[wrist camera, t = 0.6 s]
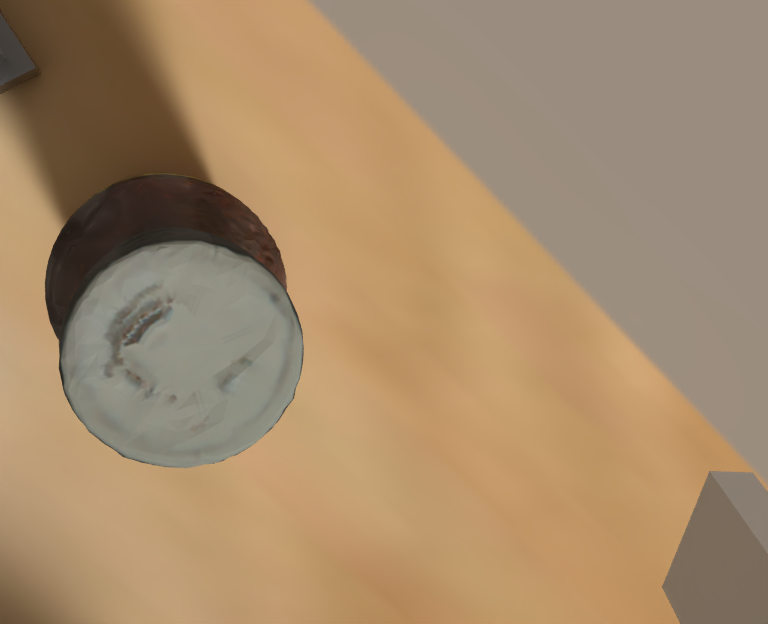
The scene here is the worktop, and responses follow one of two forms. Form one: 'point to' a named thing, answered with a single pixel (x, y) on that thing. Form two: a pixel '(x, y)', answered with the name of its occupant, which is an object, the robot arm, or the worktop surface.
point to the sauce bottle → (172, 321)
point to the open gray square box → (13, 59)
